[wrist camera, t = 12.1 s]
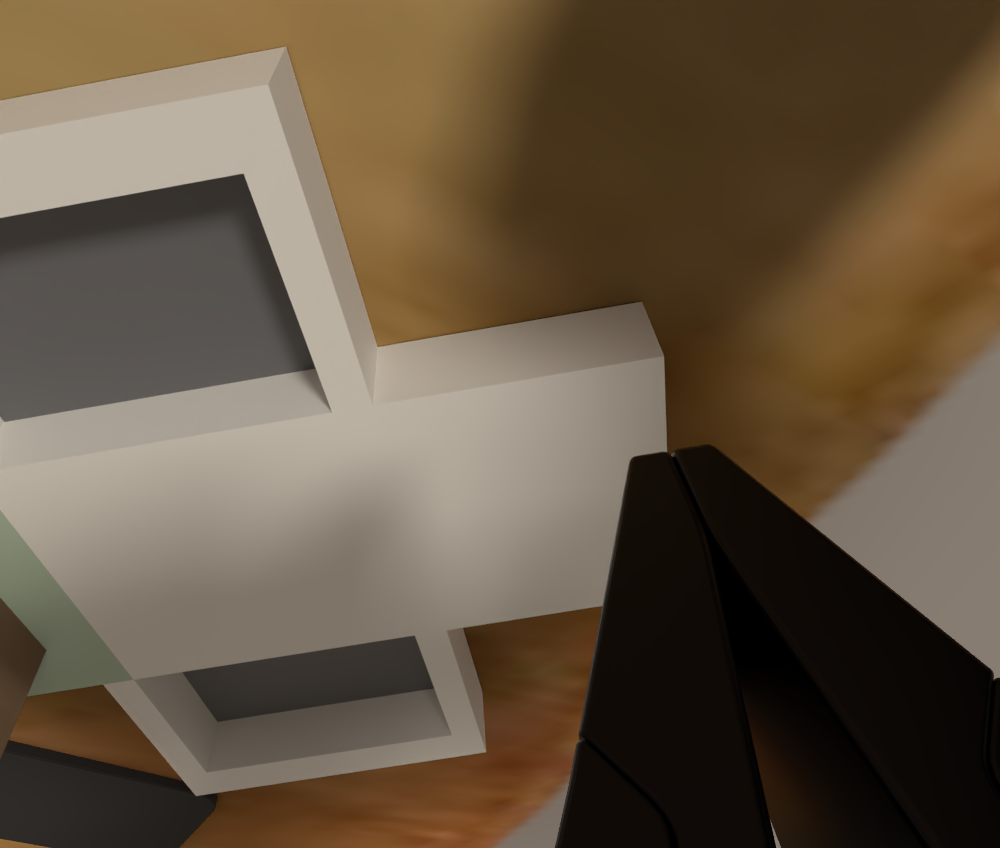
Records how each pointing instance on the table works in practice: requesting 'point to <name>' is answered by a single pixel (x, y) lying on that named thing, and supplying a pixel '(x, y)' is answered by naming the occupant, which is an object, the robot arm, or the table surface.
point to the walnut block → (15, 669)
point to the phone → (92, 803)
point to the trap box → (274, 441)
